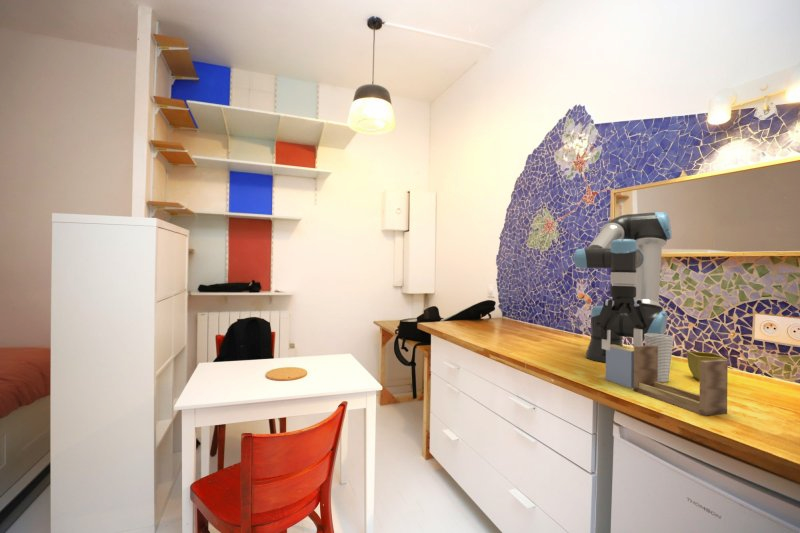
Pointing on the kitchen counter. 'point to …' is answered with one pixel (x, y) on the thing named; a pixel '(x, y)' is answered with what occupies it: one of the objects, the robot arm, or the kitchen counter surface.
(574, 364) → the kitchen counter surface
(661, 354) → the cup
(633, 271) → the robot arm
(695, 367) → the flower pot
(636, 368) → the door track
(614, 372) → the door panel
